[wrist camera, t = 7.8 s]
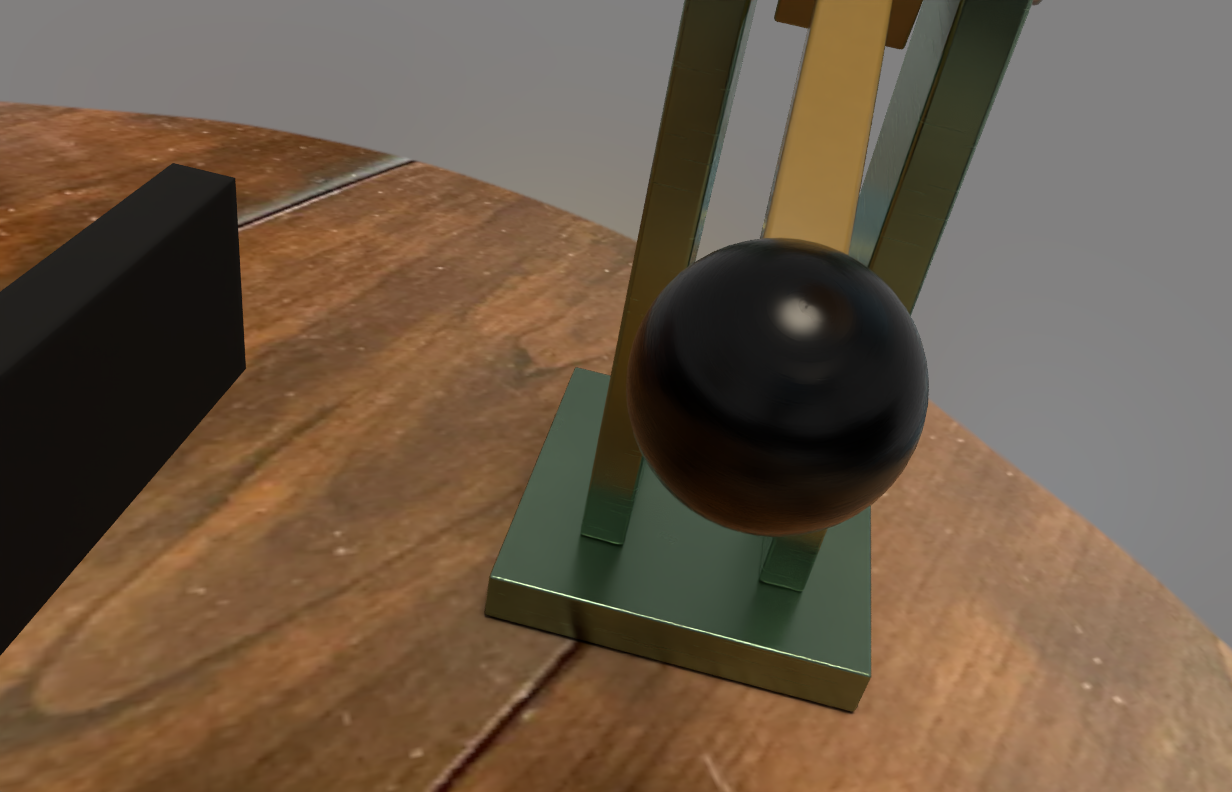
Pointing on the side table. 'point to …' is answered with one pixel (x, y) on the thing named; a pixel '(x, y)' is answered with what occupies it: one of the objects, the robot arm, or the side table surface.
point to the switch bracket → (597, 405)
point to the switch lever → (790, 321)
